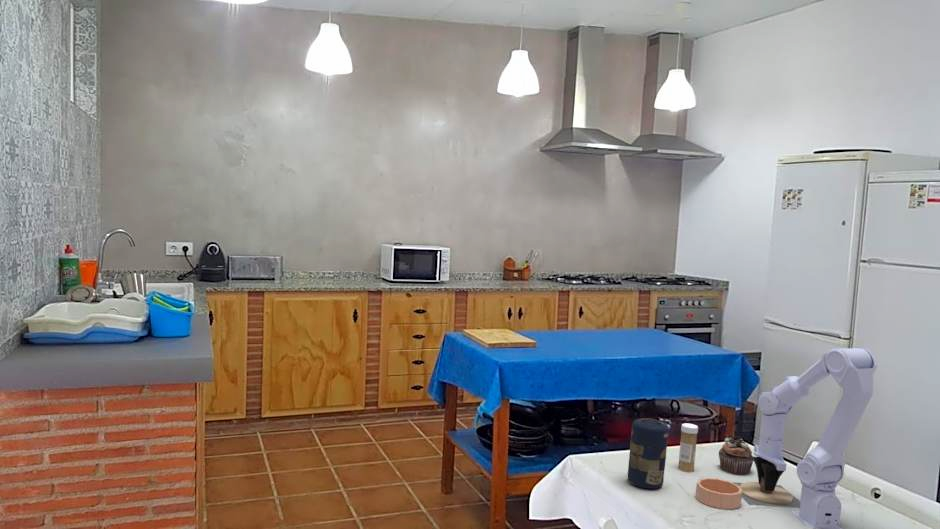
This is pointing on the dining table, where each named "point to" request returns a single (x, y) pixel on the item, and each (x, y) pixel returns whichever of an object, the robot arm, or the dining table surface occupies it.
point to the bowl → (718, 493)
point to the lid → (766, 493)
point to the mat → (753, 502)
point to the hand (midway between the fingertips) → (766, 487)
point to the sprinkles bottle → (687, 447)
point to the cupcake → (735, 456)
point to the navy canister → (647, 453)
